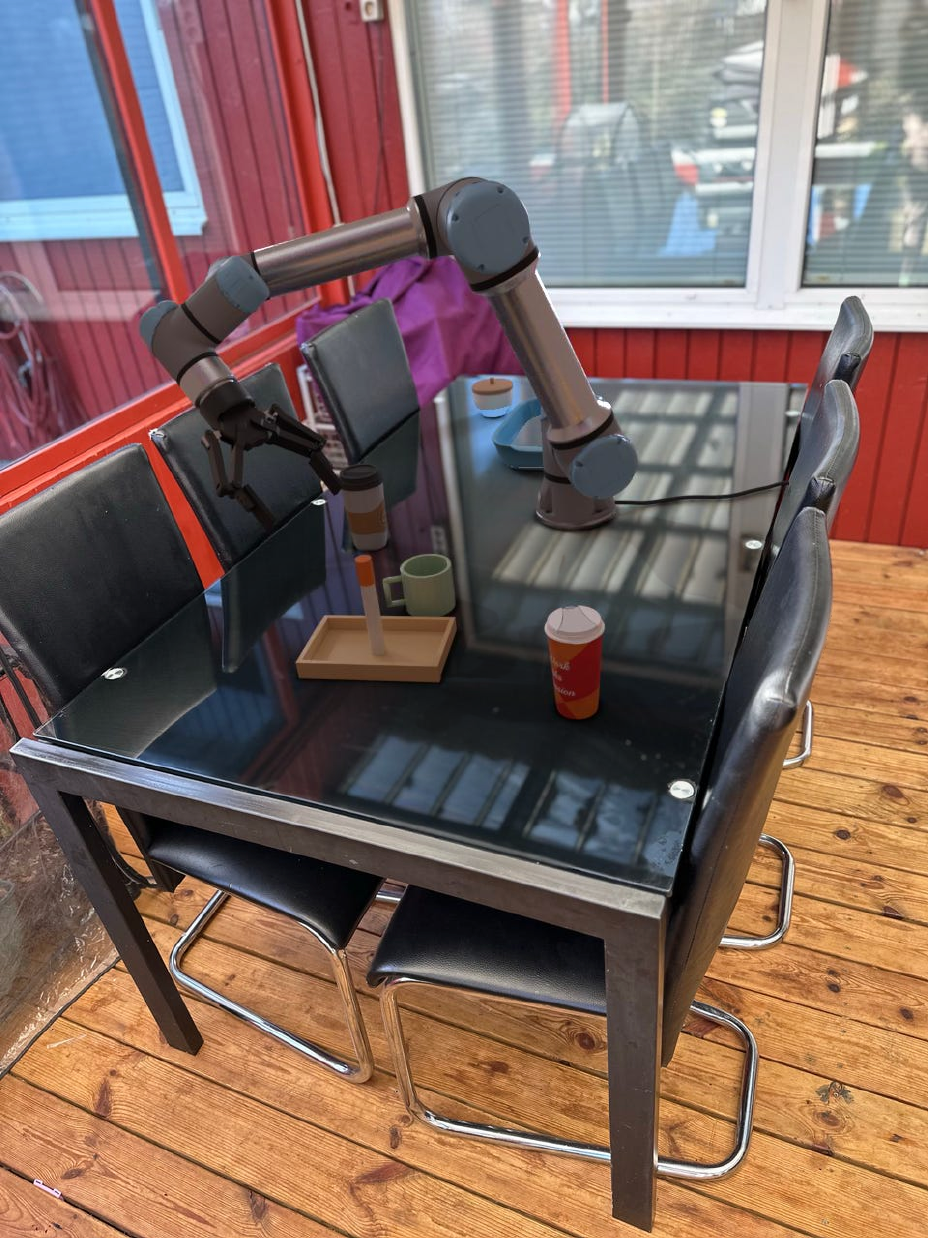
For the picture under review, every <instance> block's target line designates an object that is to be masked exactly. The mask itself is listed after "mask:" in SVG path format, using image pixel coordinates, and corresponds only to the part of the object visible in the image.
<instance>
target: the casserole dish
mask: <svg viewBox="0 0 928 1238" xmlns="http://www.w3.org/2000/svg"><path fill="white" fill-rule="evenodd" d="M604 402H607V401H606V400H604ZM539 415H541V404H540V402H539V400H538V399H537V397H536V396H535V397H532V398H528V399H525V400H523V401H521V402H519V404H517V405H516V406H515V407H514V408H513V409H512V410H511V412H510V413H509V414H508V415H507V416H506V417H505V418H504V419H503V421H502V422H501V423H500V424H499V426H498V427H497V428H496V429H495V430H494V432H493V434H492V435H491V441H492V443H493V445H494V448H495V450H496V453H497V455H498V456H499V459H500V460H501V461H502V463H503V464H504V465H506V466H507V467H509V468H510V469H513V470H523V471H541V472H542V471H543V472H544V468H519V467H543V451H542V447H538V446H517V445H511V444H512V443H514V441H515V439H516V437H517V435H518V434H519V432H520V430H521V429H522V427H523V426H524V425H525V423H526V422H527V421H528V420H530V419H531V418H533V417H536V416H539ZM511 466H513V467H511Z"/></svg>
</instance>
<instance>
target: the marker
mask: <svg viewBox="0 0 928 1238" xmlns="http://www.w3.org/2000/svg"><path fill="white" fill-rule="evenodd" d="M354 564H355V568H356V576H357V581H358V585H359V588H360V594H361V599H362V606H363V611H364V616H365V617H366V623H367V629H368V634H369V640H370V646H371V651H372V654H373V655H382V654H384V653H385V652H386V647H385V641H384V635H383V629H382V623H381V617H380V616H381V612H380V607H379V600H378V599H379V598H378V594H377V589H376V578H375V577H376V576H375V571H374V565H373V560H372V556H371V555H368V554H361V555H358V556H356V557H355V558H354Z"/></svg>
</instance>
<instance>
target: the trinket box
mask: <svg viewBox="0 0 928 1238" xmlns="http://www.w3.org/2000/svg"><path fill="white" fill-rule="evenodd" d="M470 389H471V394H472V399H473V404H474V406H475V409H477V408H478V409H480V410H495V409H500V408H504V407H507V406H509V405H510V404H511V403H512V404H513V401H514V382H513V381H512V380H510V379H507V378H495V377H489V378H488V379H483V380H479V381H476V382H474V383H473V384H472V385H471V387H470Z"/></svg>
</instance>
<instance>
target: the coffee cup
mask: <svg viewBox="0 0 928 1238" xmlns="http://www.w3.org/2000/svg"><path fill="white" fill-rule="evenodd" d="M382 473H383V472H382V471H381V470H380V467H379V466H378V465H376V464H373V463H356V464H351V465H349V466H345V467H344V468H342V469H341V470H340V471H339V473H338V475H339V476H338V478H339V479H340V480H341V481H342V483H343V484H344V486H343V487H342V489H341V490H340V493H341V496H342V501H343V503H342V504H343V507H344V511H345V515H346V520H347V523H348V528H349V530H350V533H351V537H352V542H353V545H354V547H355V548H356V549H357V550H359V551H378V550H380V549H382V548H384V547H385V546H386V545H387V542H388V533H387V528H388V527H387V514H386V502H385V495H384V483H383V482H384V478H383V474H382Z"/></svg>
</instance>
